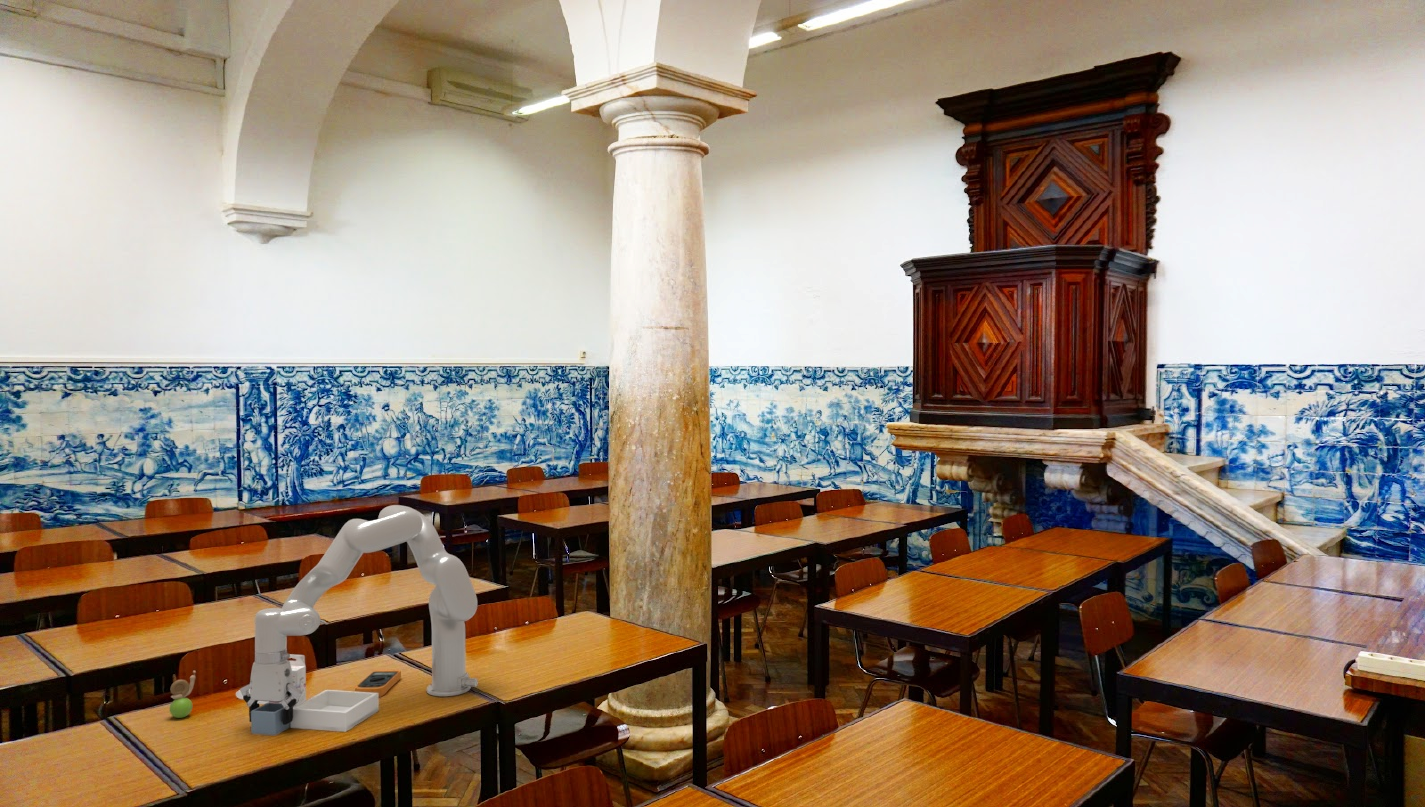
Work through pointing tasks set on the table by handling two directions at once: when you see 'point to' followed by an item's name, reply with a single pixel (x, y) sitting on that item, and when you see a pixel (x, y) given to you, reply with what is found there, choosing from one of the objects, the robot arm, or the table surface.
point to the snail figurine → (181, 697)
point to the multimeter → (379, 681)
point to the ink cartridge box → (298, 676)
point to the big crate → (335, 710)
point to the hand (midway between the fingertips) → (271, 721)
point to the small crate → (268, 719)
